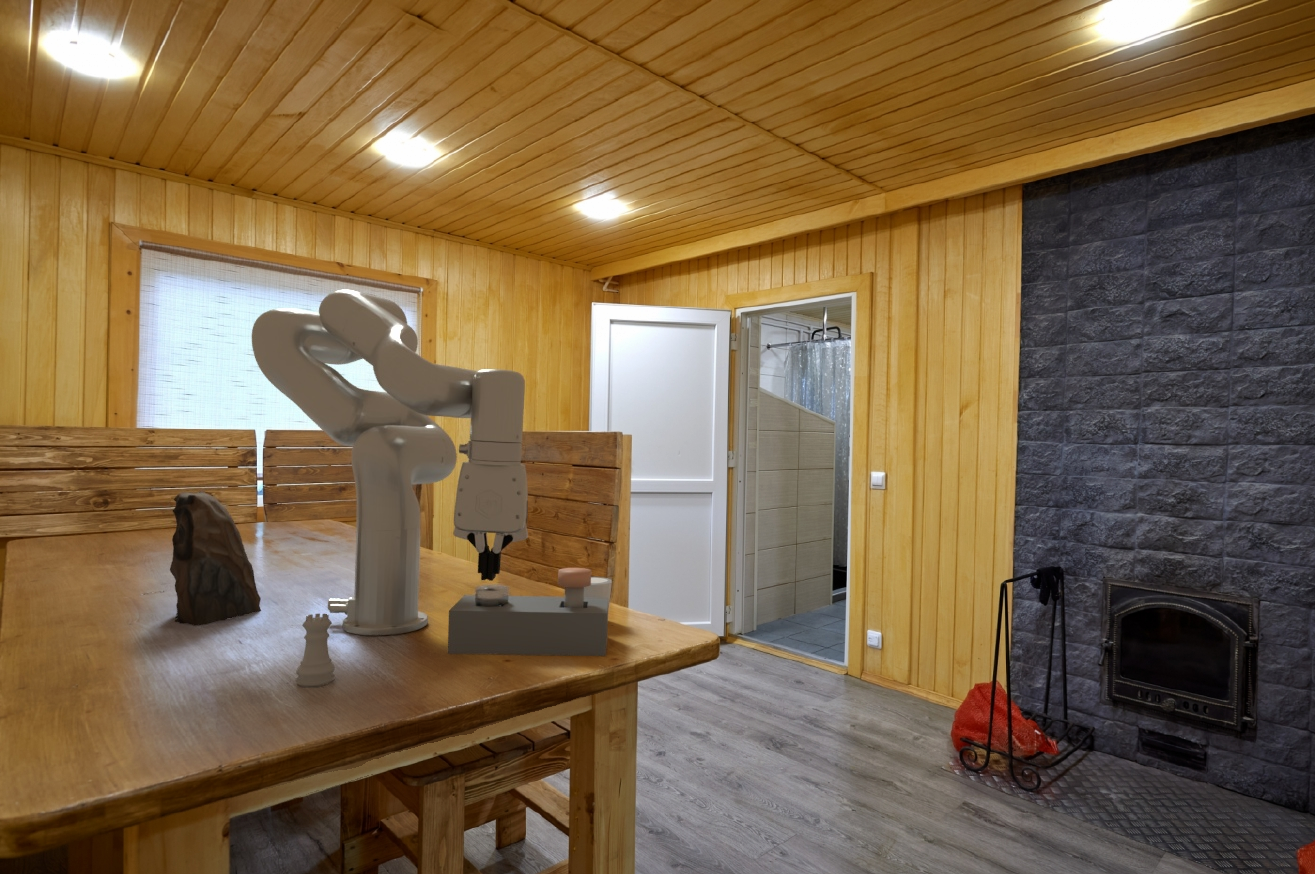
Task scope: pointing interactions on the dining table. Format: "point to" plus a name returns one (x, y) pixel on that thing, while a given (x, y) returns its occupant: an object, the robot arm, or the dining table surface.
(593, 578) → the shot glass
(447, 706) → the dining table surface
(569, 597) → the terracotta plug
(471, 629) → the press console
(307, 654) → the rook chess piece
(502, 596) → the steel plug
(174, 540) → the brown rock
